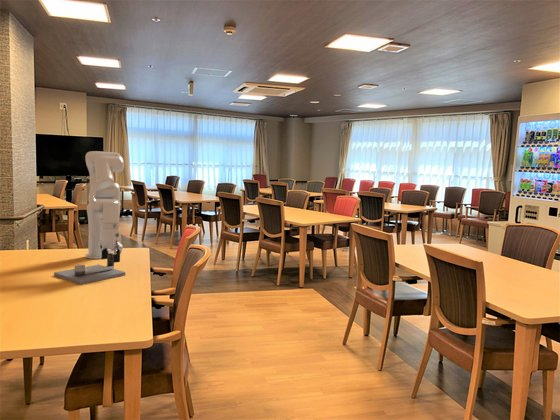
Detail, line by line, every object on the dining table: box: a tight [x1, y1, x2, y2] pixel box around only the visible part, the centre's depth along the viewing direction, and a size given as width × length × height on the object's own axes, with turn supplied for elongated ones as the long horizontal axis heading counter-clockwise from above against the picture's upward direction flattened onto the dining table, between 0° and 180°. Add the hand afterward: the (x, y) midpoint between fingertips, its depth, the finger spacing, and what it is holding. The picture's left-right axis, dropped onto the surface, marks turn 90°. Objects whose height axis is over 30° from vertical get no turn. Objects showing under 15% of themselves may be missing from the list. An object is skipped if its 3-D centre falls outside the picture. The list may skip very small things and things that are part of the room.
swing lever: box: [74, 252, 115, 276], centre depth 205 cm, size 20×4×8 cm, turn 145°
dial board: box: [53, 264, 126, 285], centre depth 206 cm, size 23×22×2 cm
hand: (110, 260), depth 212 cm, fingers open, 9 cm apart
